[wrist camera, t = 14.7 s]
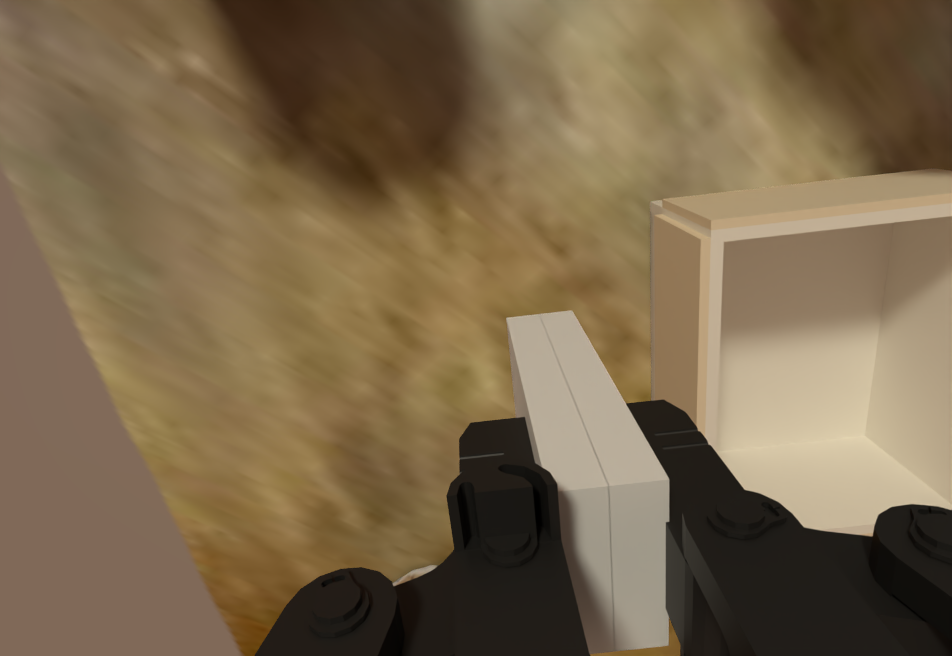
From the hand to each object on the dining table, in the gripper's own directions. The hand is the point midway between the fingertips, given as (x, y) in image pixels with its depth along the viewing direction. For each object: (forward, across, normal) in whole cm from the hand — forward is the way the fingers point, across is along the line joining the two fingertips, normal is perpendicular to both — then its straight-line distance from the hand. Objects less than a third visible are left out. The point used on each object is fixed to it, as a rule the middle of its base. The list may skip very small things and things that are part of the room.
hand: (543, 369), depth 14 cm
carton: (+34, +23, -14) cm, 44 cm away
